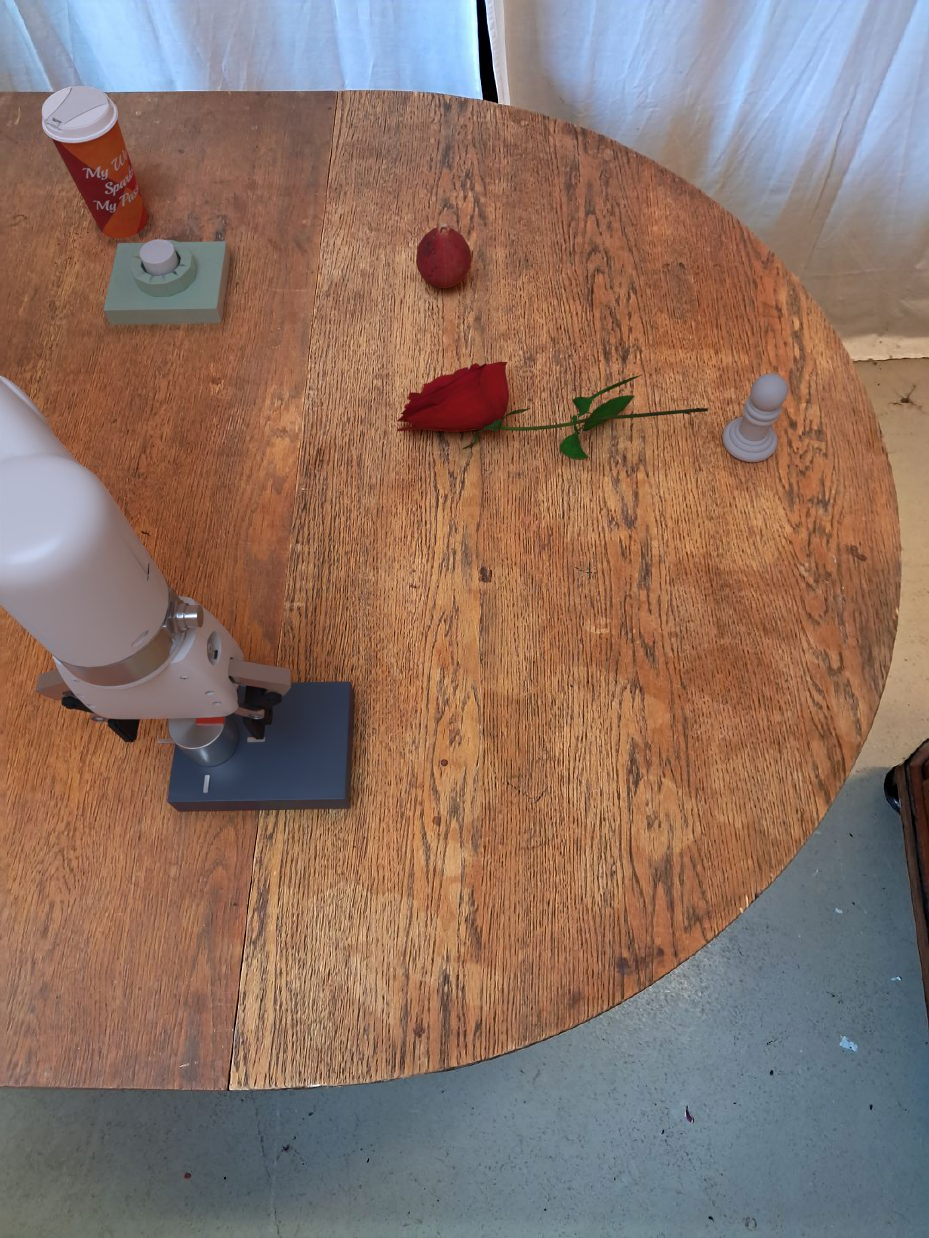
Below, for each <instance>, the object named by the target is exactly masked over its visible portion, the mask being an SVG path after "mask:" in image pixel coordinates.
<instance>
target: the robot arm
mask: <svg viewBox="0 0 929 1238" xmlns="http://www.w3.org/2000/svg"><path fill="white" fill-rule="evenodd" d="M0 606H1V608H2V609H3V610H5V611H6V612H7V613H8V614H9V616H11V617H12V618H13V619H14V620H15V621H16V622H17V623H18V624H19V625H20V626H21V627H22V628H23V629H24V630H26V631H27V632H28V633H29V634H30V635H31V636H32V637H33V638H34V639H35V640H36V641H37V642H38V643H39V644H40V645H41V646H42V647H43V648H44V649H45V650H47V652H49V653H50V655H51V656H52V659H53V662H54V664H55V666H56V668H55V669H52V670H48V671H45V672H41V673H39V674H38V677H37V683H36V687H35V691H34V692H35V693H36V694H39V695H41V696H44V697H45V698H49V699H52V700H55V701H59V700H60V701H61V706H63V707H64V708H66V709H68V710H77V711H81V712H85V713H89V714H90V717H89V719H90V721H93V722H95V723H107V727H108V728H109V729H110V730H111V731H112V732H114V733H115V734H116V736H118V737H119V738H120V739H121V740H122V741H124V742H125V743H134V741H137V739H138V733H139V728H140V727H139V726H140V720H165V719H166V720H169V719H173V718H208V717H222V716H227V715H230V714H232V713H235V714H238V715H241V716H243V724H244V725H245V726H246V728H247V729H248V731H249V732H250V734H251V735H252V737H253V738H255V739H256V740H263V739H264V733H265V725H271V724H272V718H273V706H275V705H277V704H279V703H281V702H282V696H283V695H284V696H285V695H286V693H287V692H288V691H289V690H290V688H291V682H292V681H293V680H292V677H293V670H292V669H291V668H288V667H287V668H286V667H280V666H275V665H269V664H262V663H257V662H250V661H246V660H245V656H244V652H243V650H242V649H241V647H240V646H239V644H238V642H237V641H236V640H235V638H234V637H233V636H232V635H231V633H230V632H229V631H228V630H227V629H226V627H225V626H224V625H223V624H222V623H221V621H219V619H218V618H216V617H215V616H214V615H213V614H212V612H210V611H209V610H208V609H206V608H205V607H204V606H203V605H202V604H200V603H199V602H197V601H196V600H194V599H192V598H191V597H188V596H183V595H182V596H181V595H178V594H177V592H176V591H175V589H174V588H173V587H172V586H171V585H170V583H169V582H168V580H167V578H166V577H165V575H164V574H163V573H162V571H161V570H160V568H159V567H158V565H157V564H156V562H155V561H154V559H153V558H152V556H151V554H150V553H149V551H148V549H147V548H146V547H145V545H144V544H143V542H142V541H141V539H140V537H139V536H138V534H137V533H136V531H135V530H134V528H133V526H132V525H131V524H130V522H129V520H128V519H127V517H126V516H125V513H123V511H122V509H121V508H120V507H119V504H118V503H117V502H116V500H115V499H114V497H113V496H112V494H111V492H110V491H109V490H108V489H107V487H106V485H105V484H104V483H103V482H102V480H101V479H100V477H98V476H97V475H96V474H95V473H94V472H92V470H90V469H89V468H87V466H84V465H83V464H81V463H80V462H79V460H77V458H76V457H75V456H74V455H73V453H71V452H70V450H69V449H68V448H67V447H66V446H65V445H64V444H63V442H62V441H61V440H60V439H59V438H58V437H57V436H56V434H55V433H54V431H53V429H52V426H51V424H50V422H49V421H48V419H47V418H46V416H45V415H44V414H43V412H42V411H41V410H40V408H39V406H38V405H37V404H36V403H35V402H34V400H32V399H31V397H30V396H29V395H28V394H27V393H26V392H25V391H24V390H23V389H21V388H20V387H19V386H18V385H17V384H16V383H14V382H13V381H12V380H10V379H9V378H7V377H5V376H3V375H0ZM239 685H241V686H244V687H246V690H245V700H244V702H243V701H240V700H238V688H239Z"/></svg>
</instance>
